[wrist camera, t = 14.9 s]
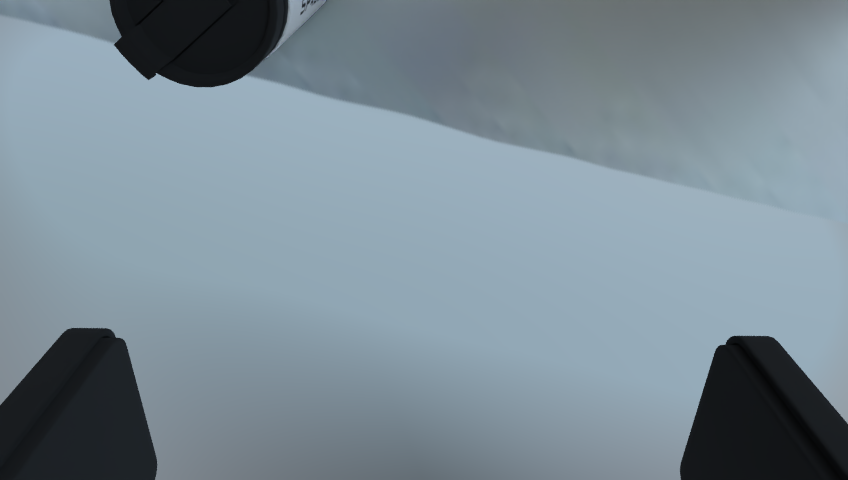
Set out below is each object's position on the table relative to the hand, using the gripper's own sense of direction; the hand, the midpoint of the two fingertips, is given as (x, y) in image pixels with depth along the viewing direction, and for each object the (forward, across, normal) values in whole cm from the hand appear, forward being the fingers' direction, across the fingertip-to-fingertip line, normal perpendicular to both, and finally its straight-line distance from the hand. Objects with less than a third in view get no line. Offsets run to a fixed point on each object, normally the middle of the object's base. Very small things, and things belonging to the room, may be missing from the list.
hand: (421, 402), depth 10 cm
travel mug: (+37, +9, -4) cm, 38 cm away
